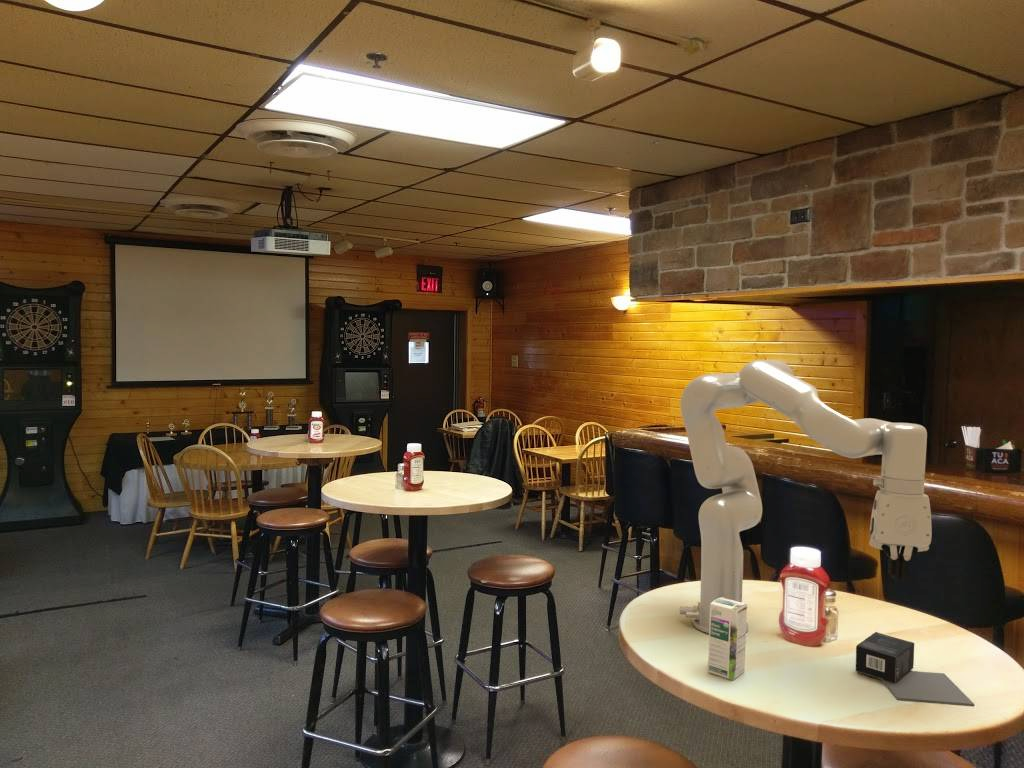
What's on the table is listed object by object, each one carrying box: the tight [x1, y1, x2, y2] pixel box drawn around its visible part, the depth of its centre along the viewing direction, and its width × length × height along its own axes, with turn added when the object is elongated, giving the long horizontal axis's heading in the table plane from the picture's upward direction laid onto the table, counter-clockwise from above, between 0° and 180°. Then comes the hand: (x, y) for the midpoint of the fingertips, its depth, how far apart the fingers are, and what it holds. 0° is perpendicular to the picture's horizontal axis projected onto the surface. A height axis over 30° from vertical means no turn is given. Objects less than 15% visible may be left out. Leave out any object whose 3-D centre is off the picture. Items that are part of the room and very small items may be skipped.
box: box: [855, 631, 915, 683], centre depth 152 cm, size 8×6×11 cm
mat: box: [880, 670, 975, 707], centre depth 145 cm, size 14×13×1 cm
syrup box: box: [707, 597, 748, 681], centre depth 150 cm, size 6×6×14 cm
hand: (896, 577), depth 146 cm, fingers closed
